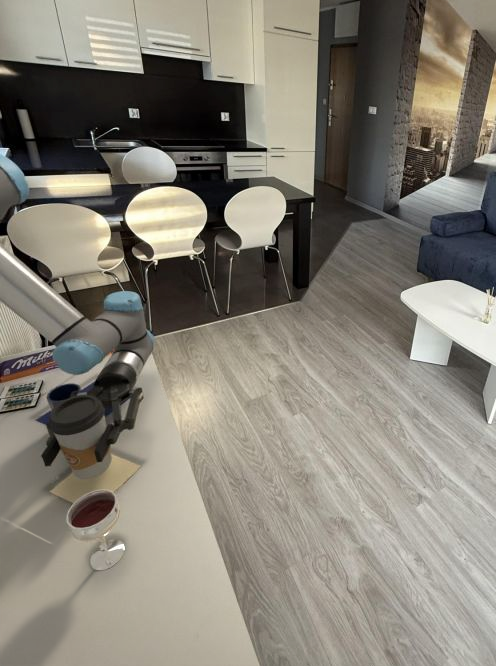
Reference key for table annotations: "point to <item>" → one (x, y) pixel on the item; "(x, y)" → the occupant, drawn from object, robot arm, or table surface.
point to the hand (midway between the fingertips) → (72, 458)
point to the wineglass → (97, 525)
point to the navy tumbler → (61, 394)
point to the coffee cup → (81, 434)
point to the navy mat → (46, 417)
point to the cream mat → (96, 480)
